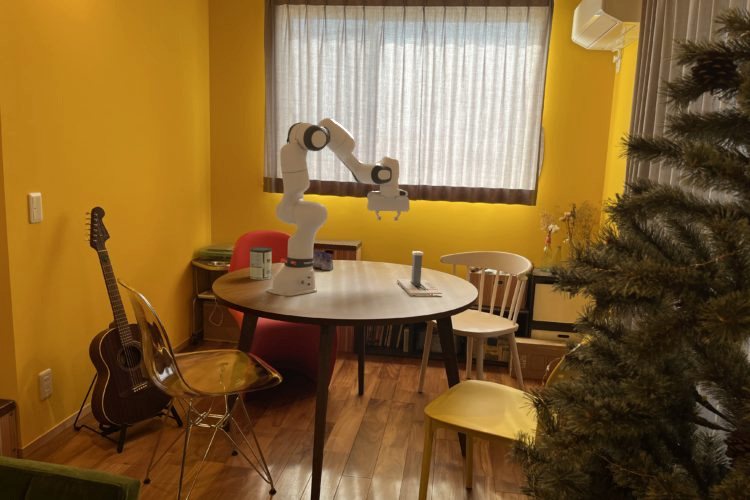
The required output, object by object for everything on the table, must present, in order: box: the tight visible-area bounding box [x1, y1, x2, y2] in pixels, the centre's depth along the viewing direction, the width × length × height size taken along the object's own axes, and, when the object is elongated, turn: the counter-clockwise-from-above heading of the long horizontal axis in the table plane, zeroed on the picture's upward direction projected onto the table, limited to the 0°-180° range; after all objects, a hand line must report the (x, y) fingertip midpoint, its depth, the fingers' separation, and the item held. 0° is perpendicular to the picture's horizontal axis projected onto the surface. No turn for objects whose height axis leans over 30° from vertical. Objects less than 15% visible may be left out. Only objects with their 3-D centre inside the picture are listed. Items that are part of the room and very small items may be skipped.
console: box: [396, 278, 443, 296], centre depth 259 cm, size 28×14×2 cm, turn 10°
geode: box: [313, 249, 334, 272], centre depth 299 cm, size 20×12×10 cm, turn 30°
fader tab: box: [411, 250, 424, 286], centre depth 262 cm, size 4×4×16 cm
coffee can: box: [249, 246, 273, 281], centre depth 266 cm, size 10×10×14 cm
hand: (387, 220), depth 269 cm, fingers open, 7 cm apart
